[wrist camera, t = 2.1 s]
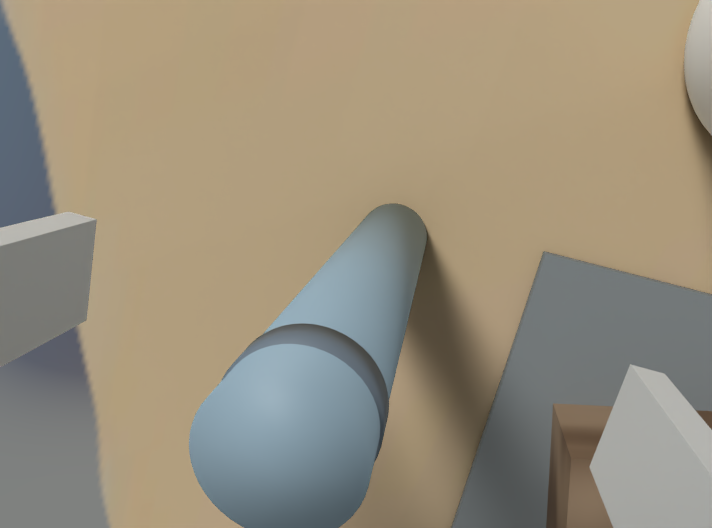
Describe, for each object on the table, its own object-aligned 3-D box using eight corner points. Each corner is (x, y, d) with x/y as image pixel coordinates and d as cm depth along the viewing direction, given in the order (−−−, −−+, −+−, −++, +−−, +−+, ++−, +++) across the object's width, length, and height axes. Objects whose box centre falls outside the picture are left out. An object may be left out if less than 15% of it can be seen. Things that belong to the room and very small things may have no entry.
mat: (543, 251, 23) (545, 253, 22) (1029, 376, 21) (1039, 380, 21) (418, 625, 29) (417, 632, 28) (791, 749, 27) (796, 758, 26)
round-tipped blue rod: (367, 194, 23) (200, 346, 8) (436, 212, 23) (394, 403, 8) (352, 260, 24) (174, 508, 9) (418, 278, 24) (350, 566, 9)
